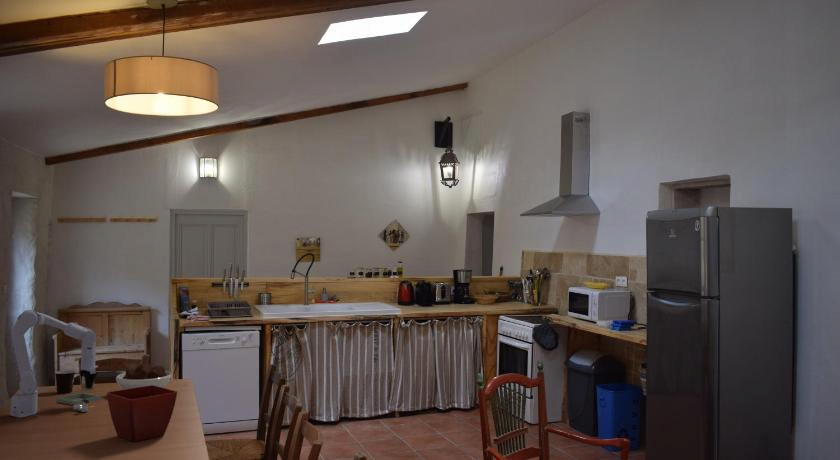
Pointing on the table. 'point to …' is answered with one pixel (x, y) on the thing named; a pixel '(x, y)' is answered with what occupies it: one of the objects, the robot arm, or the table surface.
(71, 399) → the tray
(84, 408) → the crank
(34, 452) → the table surface
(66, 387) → the coffee mug
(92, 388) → the wooden block
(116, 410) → the plant pot
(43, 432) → the table surface
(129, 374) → the white bowl of food
